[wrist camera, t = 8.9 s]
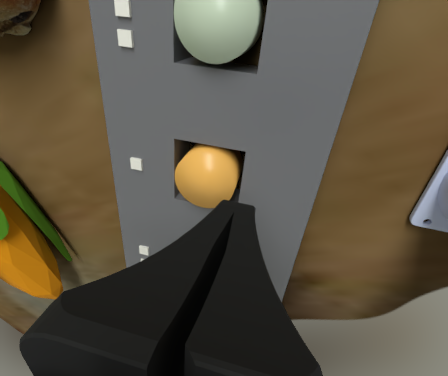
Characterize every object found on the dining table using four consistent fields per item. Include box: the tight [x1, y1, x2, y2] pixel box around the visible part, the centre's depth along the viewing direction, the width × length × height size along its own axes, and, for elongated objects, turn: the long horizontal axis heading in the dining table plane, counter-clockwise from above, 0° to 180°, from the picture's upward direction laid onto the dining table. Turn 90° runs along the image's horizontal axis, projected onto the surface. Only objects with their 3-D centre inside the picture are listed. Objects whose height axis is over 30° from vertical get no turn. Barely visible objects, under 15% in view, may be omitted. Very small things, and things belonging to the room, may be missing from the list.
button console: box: [89, 0, 379, 302], centre depth 19 cm, size 14×30×3 cm, turn 174°
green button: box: [174, 0, 264, 64], centre depth 14 cm, size 4×4×3 cm
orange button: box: [175, 143, 243, 208], centre depth 19 cm, size 4×4×3 cm
